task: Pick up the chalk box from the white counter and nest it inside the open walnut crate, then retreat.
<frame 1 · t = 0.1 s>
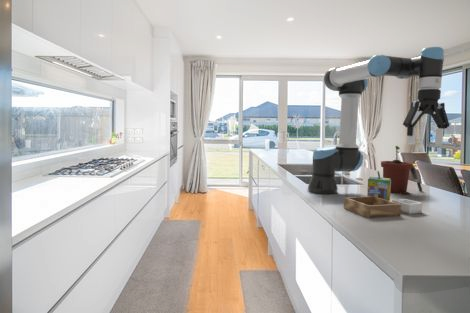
hand: (424, 144, 124), 28 cm above the counter, fingers open, 13 cm apart
potted plant: (400, 191, 175), on the counter
chalk box: (378, 203, 145), on the counter
white tub: (406, 211, 132), on the counter
crate: (370, 211, 130), on the counter
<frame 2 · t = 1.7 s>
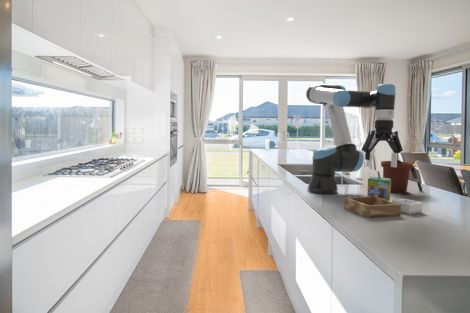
hand: (381, 167, 143), 17 cm above the counter, fingers open, 13 cm apart
nothing on the counter moved.
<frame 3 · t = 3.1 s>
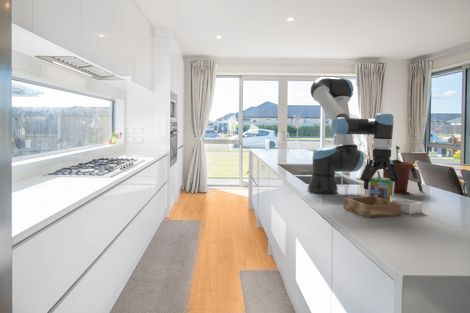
hand: (379, 195, 145), 4 cm above the counter, fingers closed on chalk box, 12 cm apart
chalk box: (378, 203, 145), on the counter, touching gripper
everything else where it was.
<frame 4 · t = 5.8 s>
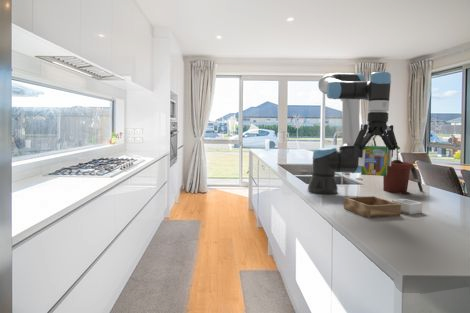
hand: (374, 165, 128), 19 cm above the counter, fingers closed on chalk box, 12 cm apart
chalk box: (374, 175, 129), point 15 cm above the counter, touching gripper
everything else where it was.
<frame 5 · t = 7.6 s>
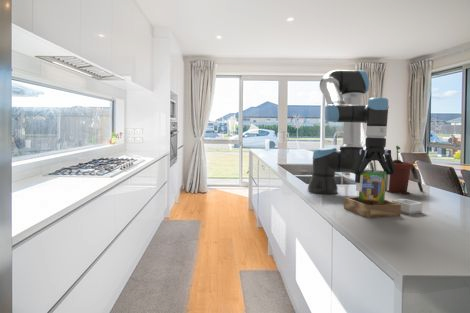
hand: (372, 190, 129), 9 cm above the counter, fingers closed on chalk box, 12 cm apart
chalk box: (371, 199, 129), point 5 cm above the counter, touching gripper
everything else where it was.
when the fingers open (7 cm above the counter, at t = 8.7 s): chalk box drops 2 cm, resting on crate.
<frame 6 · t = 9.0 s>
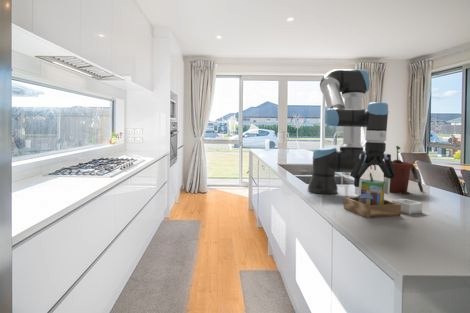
hand: (372, 194, 129), 7 cm above the counter, fingers open, 13 cm apart
chalk box: (370, 209, 130), point 1 cm above the counter, touching crate
everything else where it was.
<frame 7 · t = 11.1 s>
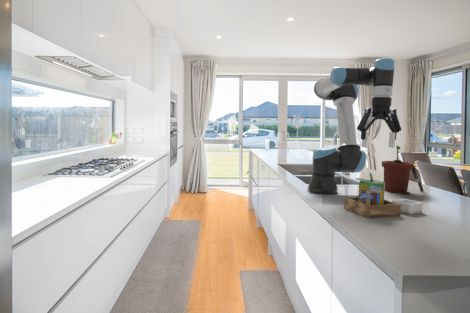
hand: (377, 147, 136), 26 cm above the counter, fingers open, 13 cm apart
nothing on the counter moved.
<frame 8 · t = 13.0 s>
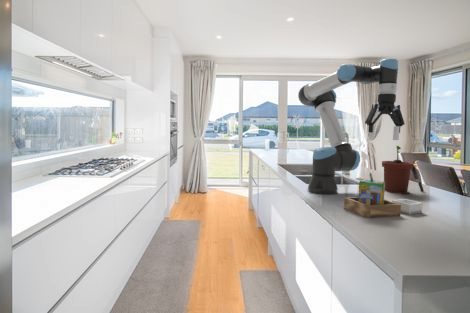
hand: (383, 140, 149), 29 cm above the counter, fingers open, 13 cm apart
nothing on the counter moved.
at the end: chalk box 0.1 cm off-centre on the crate, point 0.8 cm above the crate's base; chalk box tilted 0°; the gripper is holding nothing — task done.
